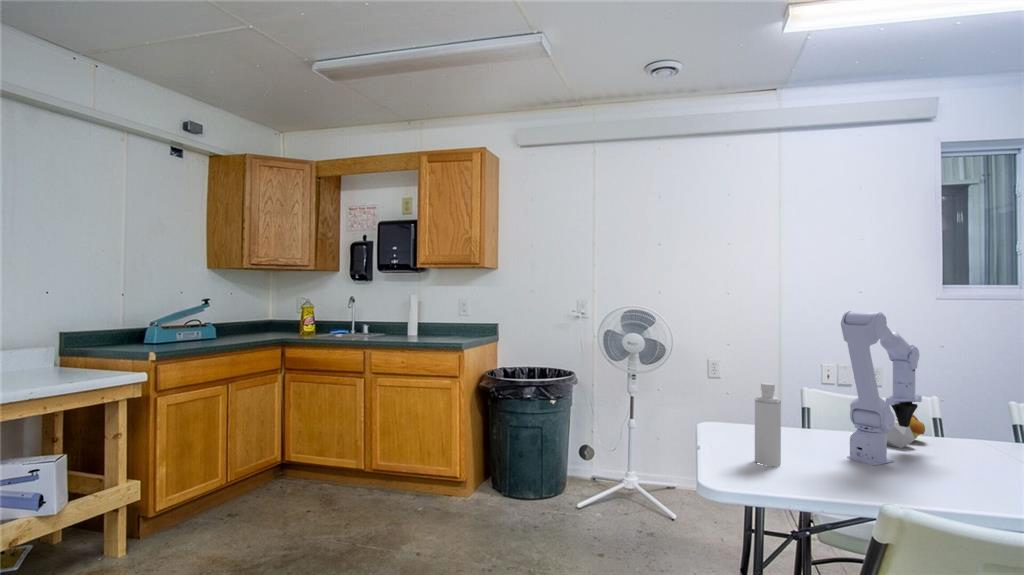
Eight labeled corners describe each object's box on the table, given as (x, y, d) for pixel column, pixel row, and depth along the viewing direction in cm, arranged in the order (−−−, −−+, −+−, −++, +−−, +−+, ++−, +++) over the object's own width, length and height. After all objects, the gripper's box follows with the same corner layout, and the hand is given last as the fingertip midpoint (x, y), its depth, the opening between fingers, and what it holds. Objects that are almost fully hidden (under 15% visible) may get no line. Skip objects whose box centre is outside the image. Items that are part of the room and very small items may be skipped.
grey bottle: (783, 470, 148) (783, 380, 149) (757, 469, 150) (758, 379, 150) (776, 463, 155) (777, 376, 155) (752, 461, 156) (752, 375, 157)
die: (920, 451, 167) (904, 447, 177) (918, 421, 169) (903, 419, 178) (889, 448, 169) (875, 445, 179) (887, 419, 171) (874, 417, 180)
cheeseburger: (886, 427, 190) (902, 404, 187) (917, 448, 182) (935, 424, 179) (874, 429, 184) (890, 405, 181) (906, 450, 176) (924, 425, 173)
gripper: (903, 386, 161) (903, 431, 161) (932, 383, 167) (932, 427, 167) (878, 382, 167) (878, 426, 167) (907, 379, 173) (907, 422, 173)
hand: (903, 426), depth 167 cm, fingers closed
